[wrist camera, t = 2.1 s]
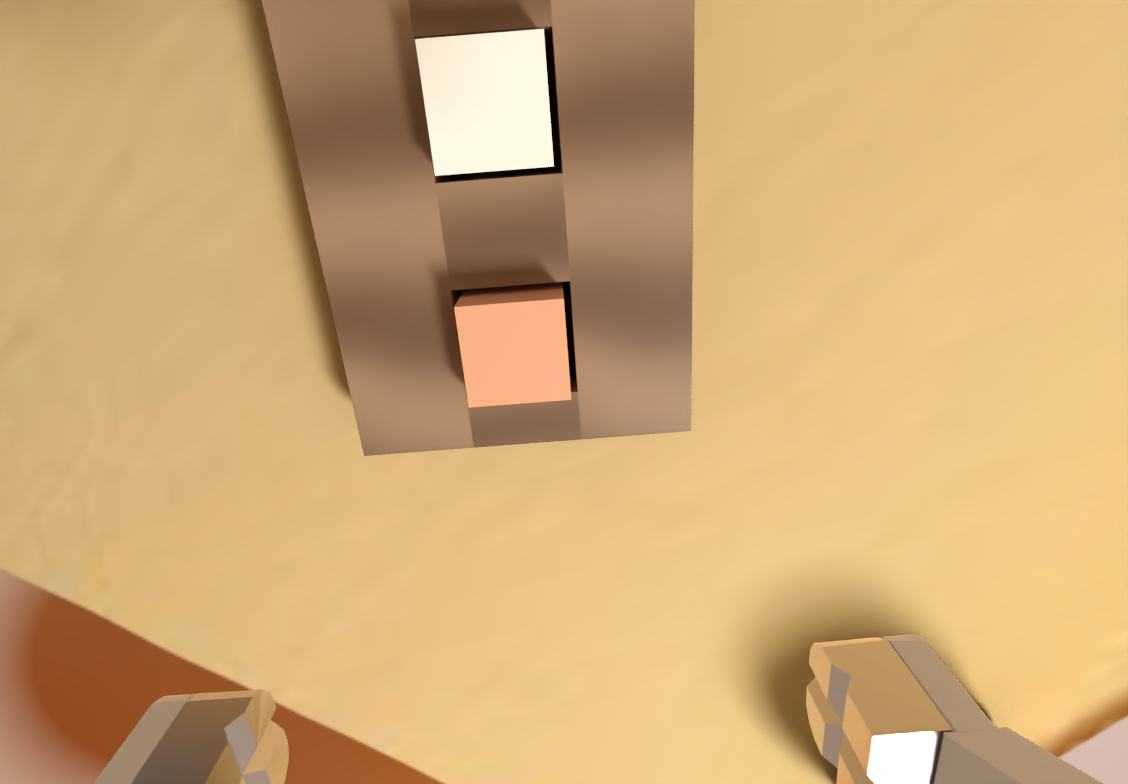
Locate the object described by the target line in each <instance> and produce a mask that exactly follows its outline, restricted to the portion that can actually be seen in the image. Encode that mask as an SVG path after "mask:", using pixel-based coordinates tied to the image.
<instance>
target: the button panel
mask: <svg viewBox="0 0 1128 784" xmlns="http://www.w3.org/2000/svg"><path fill="white" fill-rule="evenodd" d="M694 3H695V0H262V4H263V9H264V13H265V18H266V22H267V26H268V31H269V35H270V40H271V44H272V49H273V53H274V58H275V62H276V66H277V71H278V75H279V80H280V84H281V89H282V93H283V97H284V102H285V106H286V111H287V115H288V120H289V124H290V129H291V133H292V137H293V142H294V146H295V151H296V155H297V160H298V164H299V168H300V173H301V177H302V182H303V186H304V191H305V195H306V200H307V204H308V208H309V213H310V217H311V222H312V226H313V231H314V235H315V239H316V244H317V248H318V253H319V257H320V262H321V266H322V271H323V275H324V279H325V284H326V288H327V293H328V297H329V302H330V306H331V310H332V315H333V319H334V324H335V328H336V333H337V337H338V342H339V346H340V350H341V355H342V359H343V364H344V368H345V373H346V377H347V381H348V386H349V390H350V395H351V399H352V404H353V408H354V413H355V417H356V421H357V426H358V430H359V435H360V439H361V444H362V448H363V453H364V456H369V455H382V454H395V453H408V452H421V451H434V450H447V449H460V448H474V447H487V446H500V445H513V444H526V443H539V442H552V441H565V440H578V439H591V438H604V437H617V436H630V435H644V434H657V433H670V432H683V431H691V373H692V250H693V126H694ZM534 29H544V38H545V41H552V49H553V64H554V78H555V92H556V106H557V121H558V135H559V149H560V163H561V170H559V171H547V172H534V173H521V174H509V175H496V176H483V177H471V178H458V179H448V175H440V176H435V173H434V166H433V159H432V152H431V146H430V139H429V132H428V125H427V118H426V111H425V104H424V98H423V91H422V84H421V77H420V70H419V63H418V56H417V50H416V43H415V39H422V38H434V37H447V36H459V35H472V34H484V33H497V32H509V31H522V30H534ZM566 281H569V291H570V305H571V320H572V334H573V348H574V362H575V367H569V374H570V388H571V400H562V401H549V402H536V403H523V404H510V405H497V406H484V407H471V408H469V406H468V400H467V393H466V386H465V379H464V372H463V365H462V358H461V352H460V345H459V338H458V331H457V324H456V317H455V310H454V306H455V305H456V303H457V301H458V299H459V298H460V296H461V294H462V293H463V289H476V288H489V287H502V286H514V285H527V284H540V283H553V282H566Z"/></svg>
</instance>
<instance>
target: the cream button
mask: <svg viewBox="0 0 1128 784" xmlns="http://www.w3.org/2000/svg"><path fill="white" fill-rule="evenodd" d="M415 43H416V50H417V56H418V63H419V70H420V77H421V84H422V91H423V98H424V104H425V111H426V118H427V125H428V132H429V139H430V146H431V152H432V159H433V166H434V173H435V176H440V175H453V174H465V173H478V172H491V171H503V170H516V169H529V168H541V167H554V159H553V146H552V132H551V119H550V105H549V92H548V78H547V65H546V51H545V38H544V29H534V30H522V31H509V32H497V33H484V34H472V35H459V36H447V37H434V38H422V39H415Z"/></svg>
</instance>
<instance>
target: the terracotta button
mask: <svg viewBox="0 0 1128 784" xmlns="http://www.w3.org/2000/svg"><path fill="white" fill-rule="evenodd" d="M454 310H455V317H456V324H457V331H458V338H459V345H460V352H461V358H462V365H463V372H464V379H465V386H466V393H467V400H468V406H469V408H471V407H484V406H497V405H510V404H523V403H536V402H549V401H562V400H571V388H570V374H569V361H568V348H567V334H566V321H565V307H564V295H563V285H562V282H553V283H540V284H527V285H514V286H502V287H489V288H476V289H464V291H463V293H462V294H461V296H460V298H459V299H458V301H457V303H456V305H455V306H454Z"/></svg>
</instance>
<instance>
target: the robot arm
mask: <svg viewBox="0 0 1128 784" xmlns="http://www.w3.org/2000/svg"><path fill="white" fill-rule="evenodd" d="M809 665H810V667H811V669H812V671H813V673H814V675H815V678H814V679H813V680H812V681H811V682H810V683H809V684H808V685H807V692H806V707H807V713H808V719H809V724H810V727H811V730H812V733H813V736H814V739H815V742H816V744H817V746H818V748H819V751H820V753H821V755H822V756H823V757H824V758H825V759H826V760H828V761H829V762H830V763H831V764H833V765H834V766H835V767H837V768H838V771H837V780H836V784H1103V783H1101V782H1099V781H1098V780H1096V779H1094V778H1092V777H1091V776H1089V775H1087V774H1086V773H1084V772H1082V771H1081V770H1078V769H1077V768H1075V767H1074V766H1072V765H1070V764H1069V763H1067V762H1065V761H1063V760H1062V759H1060V758H1058V757H1057V756H1055V755H1053V754H1052V753H1050V752H1048V751H1046V750H1045V749H1043V748H1041V747H1040V746H1038V745H1036V744H1034V743H1033V742H1031V741H1029V740H1028V739H1026V738H1024V737H1023V736H1021V735H1019V734H1017V733H1016V732H1014V731H1012V730H1011V729H1009V728H995V726H994V725H993V724H992V723H991V721H990V720H989V719H988V718H987V716H986V715H985V714H984V713H983V711H982V710H981V709H980V708H979V706H978V705H977V704H976V703H975V701H974V700H973V699H972V698H971V696H970V695H969V694H968V693H967V692H966V690H965V689H964V688H963V687H962V685H961V684H960V683H959V682H958V680H957V679H956V678H955V677H954V675H953V674H952V673H951V672H950V670H949V669H948V668H947V667H946V665H945V664H944V663H943V662H942V661H941V659H940V658H939V657H938V656H937V654H936V653H935V652H934V651H933V649H932V648H931V647H930V646H929V644H928V643H927V642H926V641H925V639H924V638H922V637H921V636H919V635H917V634H916V633H915V634H905V635H894V636H883V637H880V638H879V637H873V638H862V639H851V640H841V641H830V642H820V643H813V645H812V647H811V649H810V655H809ZM275 710H276V706H275V703H274V701H273V698H272V696H271V693H270V691H265V690H249V691H233V692H215V693H198V694H191V695H175V696H174V695H173V696H163V697H162V698H160V699H159V700H157V701H156V702H154V703H153V704H152V705H151V706H150V708H149V709H148V710H147V712H146V713H145V714H144V716H143V717H142V719H141V720H140V721H139V723H138V724H137V725H136V727H135V728H134V729H133V731H132V732H131V733H130V735H129V736H128V737H127V739H126V740H125V742H124V743H123V744H122V746H121V747H120V748H119V750H118V751H117V752H116V754H115V755H114V756H113V758H112V759H111V761H110V762H109V763H108V765H107V766H106V767H105V769H104V770H103V771H102V773H101V774H100V775H99V777H98V778H97V780H96V781H95V782H94V784H284V782H285V777H286V772H287V766H288V760H289V753H288V741H287V738H286V735H285V732H284V730H283V729H282V728H281V727H279V726H278V725H277V724H275V723H274V722H273V721H271V718H272V716H273V714H274V712H275Z"/></svg>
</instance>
